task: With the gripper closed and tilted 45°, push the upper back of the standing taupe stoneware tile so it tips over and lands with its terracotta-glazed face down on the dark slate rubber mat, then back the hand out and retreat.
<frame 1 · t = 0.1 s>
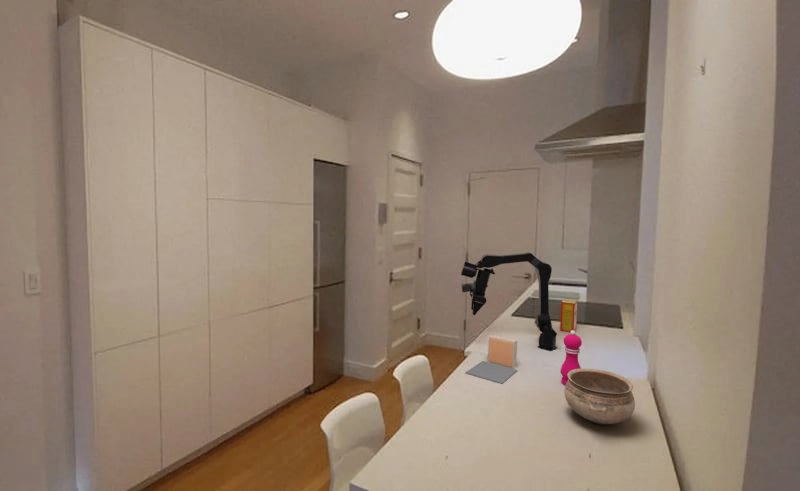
hand: (472, 312, 182), 15 cm above the worktop, tool pointing down, fingers open, 9 cm apart
slate mat: (491, 372, 151), on the worktop
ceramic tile: (501, 364, 159), on the worktop
baking soda box: (568, 330, 206), on the worktop
pepper mill: (570, 384, 141), on the worktop
cooking pot: (597, 419, 117), on the worktop
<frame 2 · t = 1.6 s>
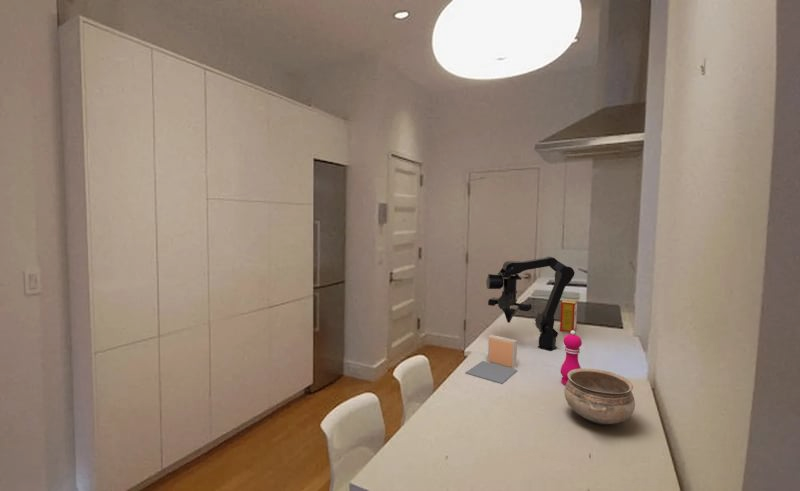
hand: (508, 322, 177), 12 cm above the worktop, tool pointing down, fingers closed
nothing on the worktop moved.
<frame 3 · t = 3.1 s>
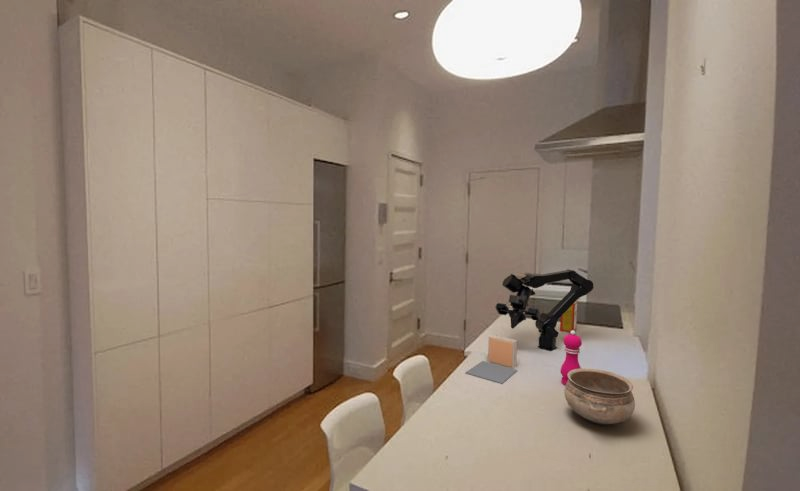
hand: (512, 328, 166), 13 cm above the worktop, tool tilted 45°, fingers closed
nothing on the worktop moved.
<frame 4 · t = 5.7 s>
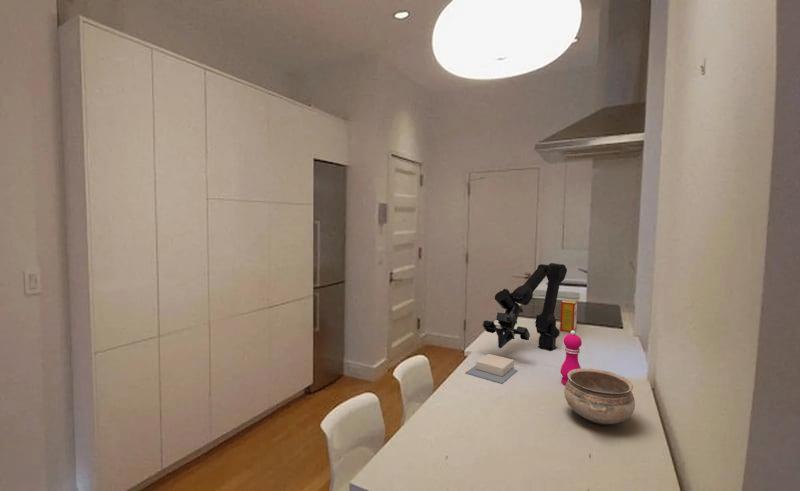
hand: (499, 347, 156), 8 cm above the worktop, tool tilted 45°, fingers closed
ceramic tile: (500, 360, 157), point 2 cm above the worktop, tilted 90°, touching slate mat
everything else where it was.
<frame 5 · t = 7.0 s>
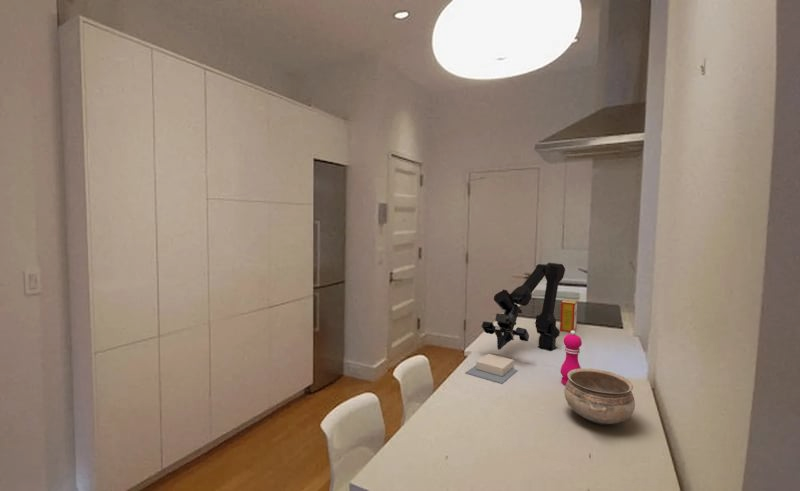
hand: (498, 349, 155), 8 cm above the worktop, tool tilted 45°, fingers closed
nothing on the worktop moved.
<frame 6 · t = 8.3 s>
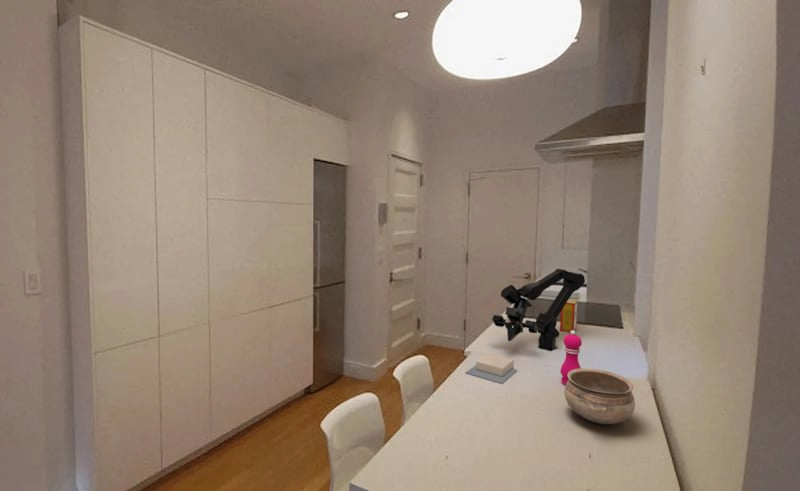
hand: (508, 340, 163), 8 cm above the worktop, tool tilted 45°, fingers closed
nothing on the worktop moved.
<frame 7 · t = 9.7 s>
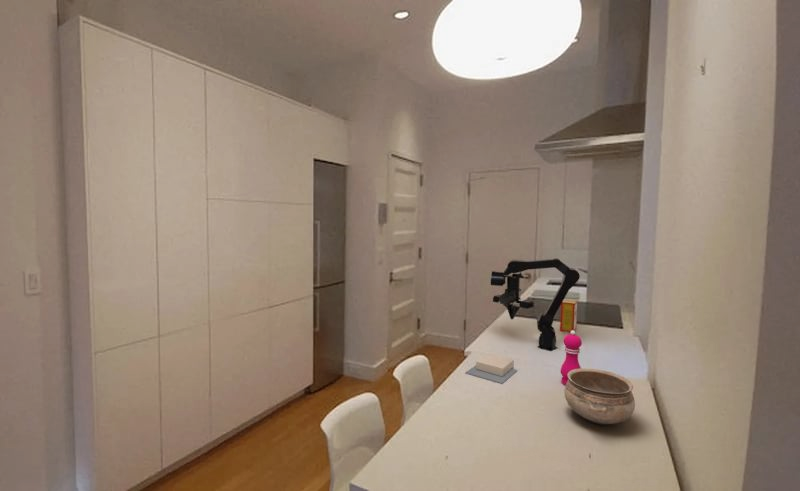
hand: (512, 319, 182), 12 cm above the worktop, tool pointing down, fingers closed
nothing on the worktop moved.
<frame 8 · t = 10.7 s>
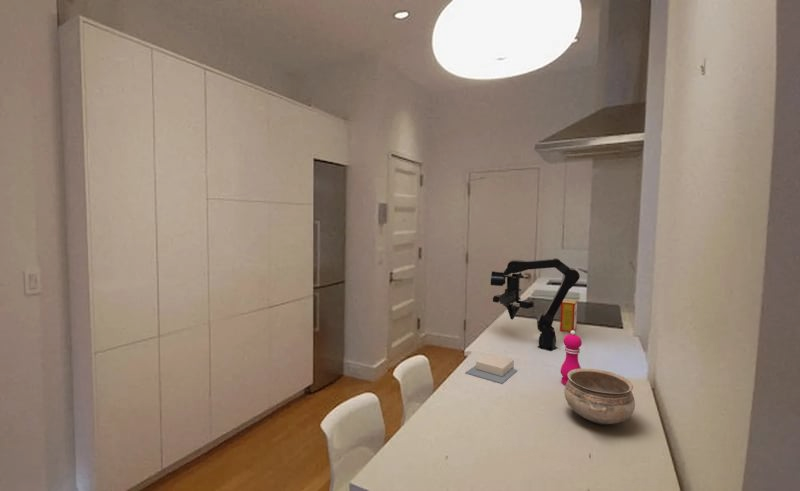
hand: (512, 319, 182), 12 cm above the worktop, tool pointing down, fingers closed
nothing on the worktop moved.
at the end: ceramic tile tilted 90°; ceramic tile 8.6 cm from the slate mat (horizontally); the gripper is holding nothing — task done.
